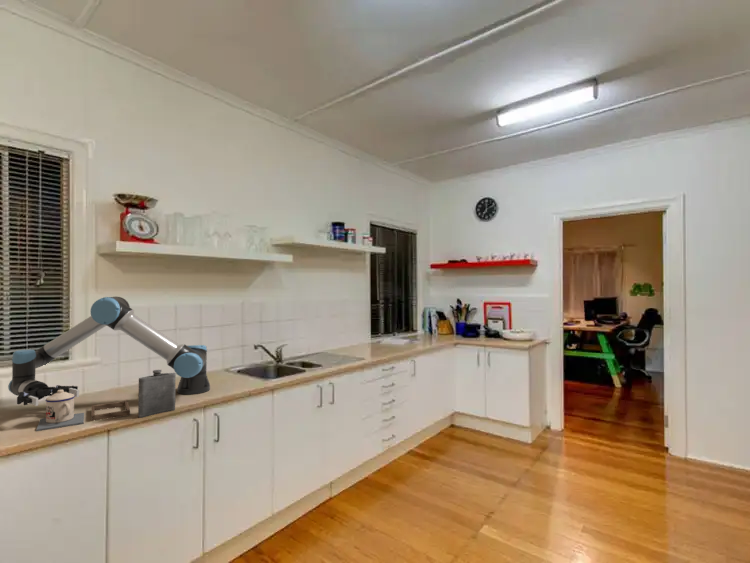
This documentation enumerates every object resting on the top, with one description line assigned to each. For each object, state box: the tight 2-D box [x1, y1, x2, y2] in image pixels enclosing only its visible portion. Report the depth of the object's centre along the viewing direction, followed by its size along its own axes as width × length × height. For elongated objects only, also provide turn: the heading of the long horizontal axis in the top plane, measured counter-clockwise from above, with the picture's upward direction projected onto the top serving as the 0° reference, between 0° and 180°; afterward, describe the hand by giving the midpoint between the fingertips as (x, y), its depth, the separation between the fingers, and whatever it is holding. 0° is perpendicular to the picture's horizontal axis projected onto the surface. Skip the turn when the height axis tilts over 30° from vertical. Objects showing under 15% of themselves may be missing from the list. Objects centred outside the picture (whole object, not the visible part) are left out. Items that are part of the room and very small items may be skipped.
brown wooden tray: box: [91, 400, 131, 422], centre depth 169 cm, size 13×16×2 cm
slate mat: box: [36, 412, 85, 432], centre depth 157 cm, size 14×14×1 cm
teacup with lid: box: [45, 390, 76, 423], centre depth 158 cm, size 12×9×12 cm
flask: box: [137, 369, 177, 419], centre depth 169 cm, size 4×14×18 cm, turn 139°
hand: (58, 397), depth 158 cm, fingers open, 13 cm apart
